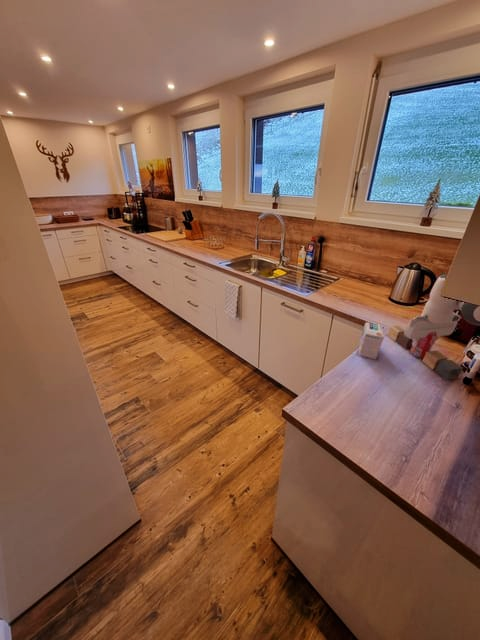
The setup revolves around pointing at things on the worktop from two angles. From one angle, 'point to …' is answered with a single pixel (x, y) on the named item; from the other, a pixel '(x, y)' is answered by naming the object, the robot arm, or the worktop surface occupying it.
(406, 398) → the worktop surface
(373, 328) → the light bulb box
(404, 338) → the block row
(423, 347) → the beverage can
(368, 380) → the worktop surface
